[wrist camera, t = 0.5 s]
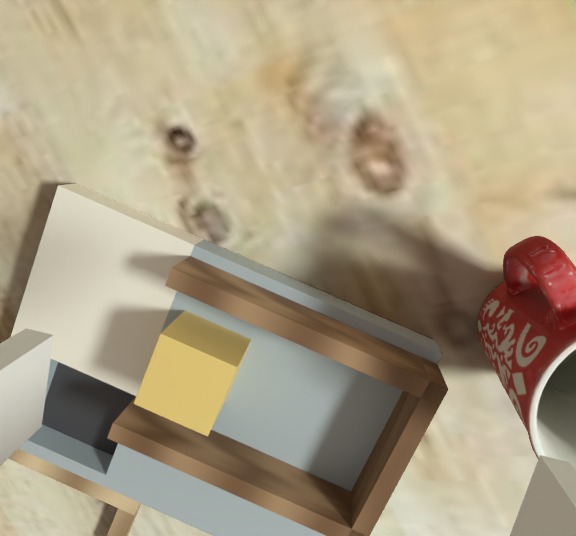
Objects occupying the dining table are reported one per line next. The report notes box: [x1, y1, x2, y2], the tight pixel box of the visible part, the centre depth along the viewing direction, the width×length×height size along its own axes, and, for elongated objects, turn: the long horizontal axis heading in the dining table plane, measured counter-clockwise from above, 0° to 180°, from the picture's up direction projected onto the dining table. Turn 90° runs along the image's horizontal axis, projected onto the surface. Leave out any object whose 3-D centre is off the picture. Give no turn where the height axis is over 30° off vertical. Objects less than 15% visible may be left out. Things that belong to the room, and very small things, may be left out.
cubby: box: [107, 256, 448, 536], centre depth 36 cm, size 18×12×4 cm
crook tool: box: [9, 449, 141, 536], centre depth 43 cm, size 12×5×1 cm, turn 67°
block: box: [134, 311, 251, 437], centre depth 35 cm, size 5×5×5 cm
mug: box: [478, 236, 576, 470], centre depth 31 cm, size 13×9×14 cm
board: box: [11, 184, 443, 536], centre depth 40 cm, size 28×20×2 cm
